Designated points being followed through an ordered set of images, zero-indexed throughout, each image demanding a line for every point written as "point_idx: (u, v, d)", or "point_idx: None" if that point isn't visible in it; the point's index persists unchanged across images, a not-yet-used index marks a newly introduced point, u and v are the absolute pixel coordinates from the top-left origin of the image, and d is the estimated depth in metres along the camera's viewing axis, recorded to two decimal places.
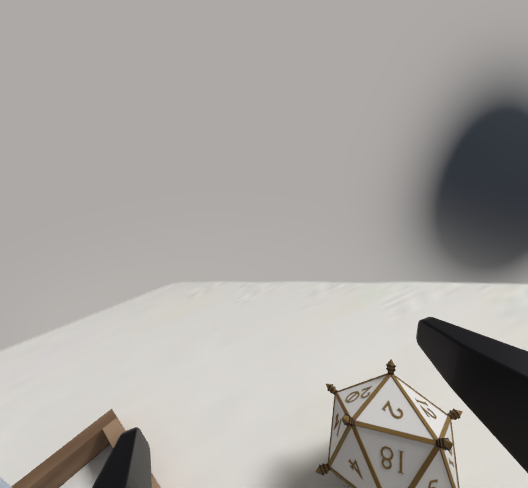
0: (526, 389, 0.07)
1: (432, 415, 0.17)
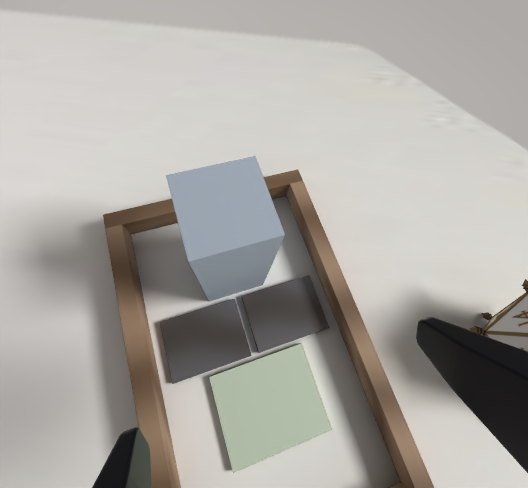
0: (526, 389, 0.07)
1: None
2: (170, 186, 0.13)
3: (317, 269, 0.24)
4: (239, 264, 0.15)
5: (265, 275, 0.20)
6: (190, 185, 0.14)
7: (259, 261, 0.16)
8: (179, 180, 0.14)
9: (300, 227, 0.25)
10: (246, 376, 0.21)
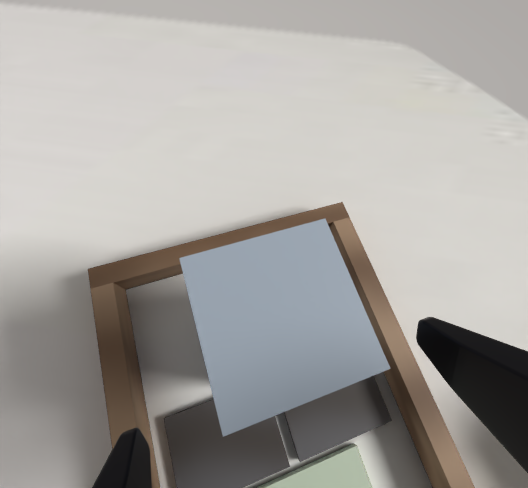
0: (526, 389, 0.07)
1: None
2: (187, 279, 0.08)
3: None
4: None
5: None
6: (221, 276, 0.08)
7: None
8: (203, 267, 0.08)
9: None
10: None
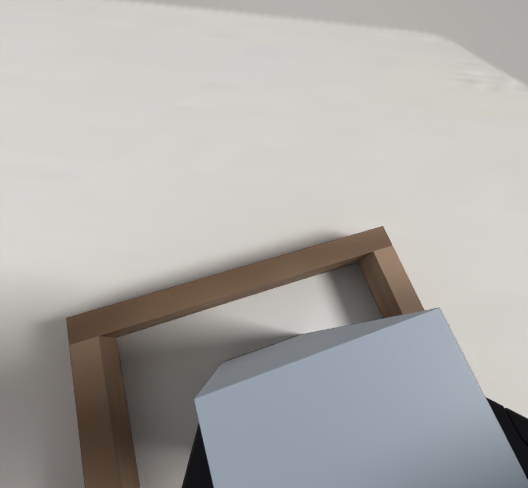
0: None
1: None
2: (210, 446, 0.04)
3: None
4: None
5: None
6: (272, 434, 0.04)
7: None
8: (238, 416, 0.04)
9: None
10: None
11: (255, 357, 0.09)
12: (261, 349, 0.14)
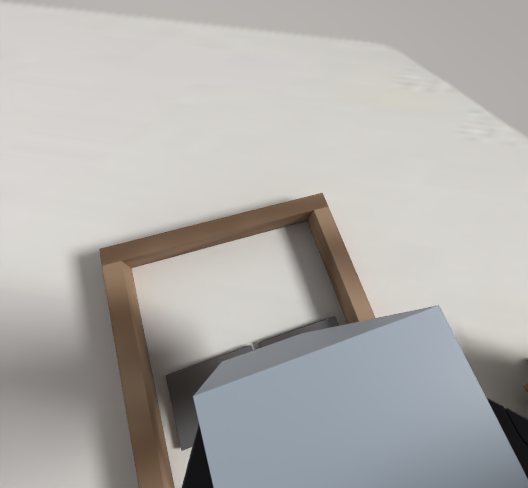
0: None
1: None
2: (209, 443, 0.04)
3: (344, 309, 0.21)
4: None
5: None
6: (271, 431, 0.04)
7: None
8: (237, 413, 0.04)
9: (324, 259, 0.22)
10: None
11: (255, 356, 0.09)
12: (261, 348, 0.14)
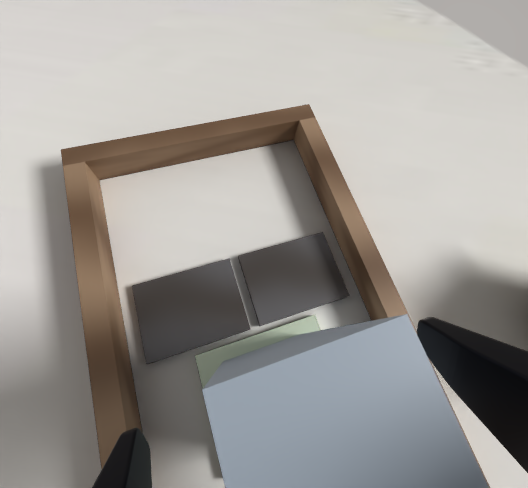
0: (526, 389, 0.07)
1: None
2: (215, 427, 0.05)
3: (333, 225, 0.19)
4: None
5: None
6: (266, 418, 0.05)
7: None
8: (237, 404, 0.05)
9: (311, 176, 0.20)
10: None
11: (253, 356, 0.10)
12: (259, 349, 0.15)
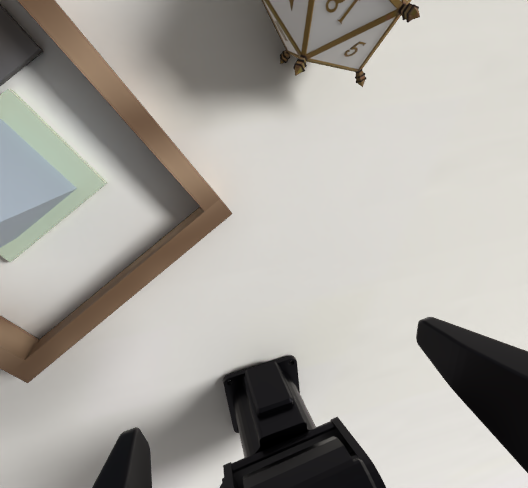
0: (526, 389, 0.07)
1: None
2: None
3: None
4: None
5: (52, 200, 0.13)
6: None
7: None
8: None
9: None
10: None
11: None
12: None
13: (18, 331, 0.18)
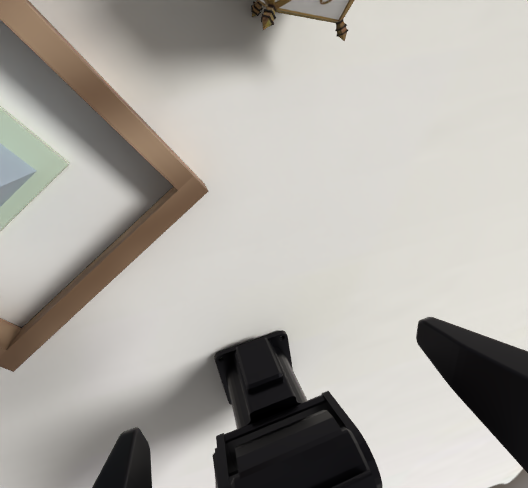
0: (526, 389, 0.07)
1: None
2: None
3: None
4: None
5: (3, 186, 0.12)
6: None
7: None
8: None
9: None
10: None
11: None
12: None
13: None
